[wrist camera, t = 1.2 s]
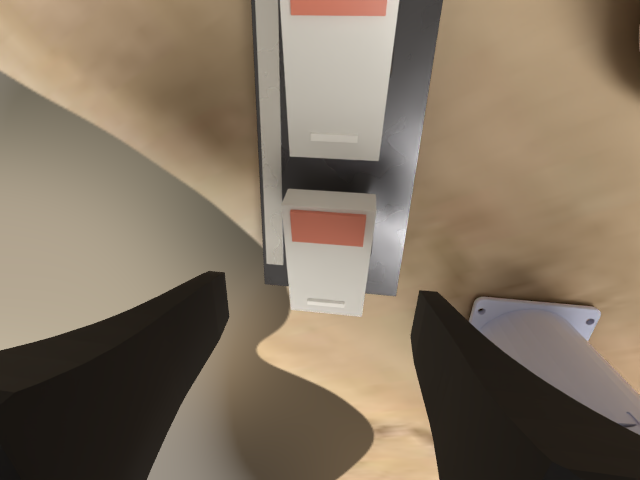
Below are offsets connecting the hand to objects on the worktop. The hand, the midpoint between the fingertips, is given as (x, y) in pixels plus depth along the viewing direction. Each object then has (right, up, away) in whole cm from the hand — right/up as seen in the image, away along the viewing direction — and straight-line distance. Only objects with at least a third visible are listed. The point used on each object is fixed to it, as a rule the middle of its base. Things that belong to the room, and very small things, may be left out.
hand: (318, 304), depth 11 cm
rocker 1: (+1, +10, +2) cm, 10 cm away
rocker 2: (+1, +2, +5) cm, 6 cm away
